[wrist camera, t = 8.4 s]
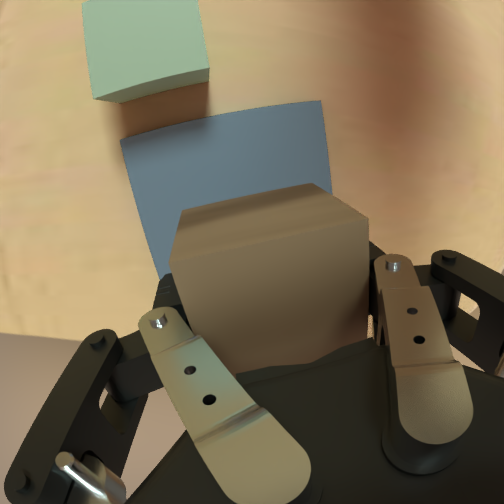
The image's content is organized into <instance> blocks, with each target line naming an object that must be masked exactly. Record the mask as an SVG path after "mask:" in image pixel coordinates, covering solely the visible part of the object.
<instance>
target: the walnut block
mask: <svg viewBox="0 0 504 504" xmlns="http://www.w3.org/2000/svg"><path fill="white" fill-rule="evenodd" d="M168 263H169V267H170V270H171V273H172V276H173V279H174V282H175V285H176V288H177V290H178V293H179V296H180V299H181V302H182V305H183V308H184V310H185V313H186V316H187V319H188V321H189V324H190V327H191V329H192V332H193V334H194V336H196V335H198V334H199V335H200V336H201V337H202V338H203V339H204V341H205V342H206V343H207V344H208V346H209V347H210V348H211V350H212V351H213V352H214V353H215V355H216V356H217V357H218V358H219V360H220V361H221V362H222V363H223V365H224V366H225V367H226V368H227V370H228V371H229V372H230V373H231V374H232V376H233V377H234V378H235V379H236V374H237V373H242V372H247V371H251V370H256V369H260V368H264V367H269V366H280V365H296V364H307V363H311V362H313V361H315V360H317V359H319V358H321V357H323V356H325V355H327V354H329V353H331V352H333V351H335V350H336V349H338V348H340V347H343V346H346V345H349V344H352V343H355V342H358V341H361V340H365V339H367V331H368V310H369V226H368V218H367V217H365V216H364V215H362V214H361V213H359V212H358V211H356V210H355V209H353V208H352V207H350V206H349V205H347V204H345V203H344V202H342V201H341V200H339V199H338V198H336V197H334V196H333V195H331V194H330V193H328V192H326V191H325V190H323V189H322V188H320V187H318V186H317V185H315V184H313V183H307V184H302V185H296V186H291V187H286V188H281V189H276V190H271V191H266V192H261V193H256V194H251V195H247V196H242V197H237V198H233V199H228V200H224V201H219V202H215V203H211V204H206V205H202V206H198V207H193V208H189V209H185V210H182V212H181V216H180V219H179V223H178V227H177V231H176V234H175V238H174V242H173V246H172V250H171V254H170V258H169V262H168Z"/></svg>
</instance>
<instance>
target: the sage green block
mask: <svg viewBox="0 0 504 504" xmlns="http://www.w3.org/2000/svg"><path fill="white" fill-rule="evenodd" d="M82 14H83V26H84V37H85V46H86V54H87V62H88V69H89V76H90V83H91V89H92V95H93V99H96V100H103V101H109V102H115V103H124V102H127V101H130V100H134V99H137V98H140V97H144V96H148V95H151V94H155V93H159V92H163V91H167V90H171V89H175V88H179V87H184V86H188V85H193V84H198V83H203V82H208V81H209V62H208V57H207V51H206V45H205V40H204V34H203V28H202V23H201V17H200V11H199V6H198V0H89V1H86V2H84V3H82Z"/></svg>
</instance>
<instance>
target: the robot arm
mask: <svg viewBox="0 0 504 504" xmlns="http://www.w3.org/2000/svg"><path fill="white" fill-rule="evenodd" d="M461 293H463V294H464V295H466V296H467V297H469V298H471V299H472V300H474V301H475V302H476V303H477V304H478V306H479V308H480V316H479V320H476V319H475V318H474V317H472V316H470V315H469V314H468V313H466V312H465V311H463V310H462V309H460V308H459V307H458V305H459V301H460V296H461ZM368 315H372V335H373V337H371V338H368V339H365V340H361V341H358V342H355V343H352V344H349V345H346V346H343V347H340V348H338V349H336V350H335V351H333V352H331V353H329V354H327V355H325V356H323V357H321V358H319V359H317V360H315V361H313V362H311V363H307V364H296V365H280V366H269V367H264V368H260V369H256V370H251V371H247V372H242V373H237V374H236V379H235V378H234V377H233V376H232V374H231V373H230V372H229V371H228V370H227V368H226V367H225V366H224V365H223V363H222V362H221V361H220V360H219V358H218V357H217V356H216V355H215V353H214V352H213V351H212V350H211V348H210V347H209V346H208V344H207V343H206V342H205V341H204V339H203V338H202V337H201V336H200V335H199V334H198V335H196V336H194V334H193V332H192V329H191V327H190V324H189V321H188V319H187V316H186V313H185V310H184V308H183V305H182V302H181V299H180V296H179V293H178V290H177V288H176V285H175V282H174V279H173V276H172V273H168V274H165V275H164V276H163V278H162V279H161V280H160V281H159V284H158V290H157V292H156V296H155V300H154V304H153V309H152V310H151V311H149V312H147V313H146V314H145V315H143V316H142V317H141V319H140V320H139V322H138V327H139V330H138V331H136V332H134V333H132V334H129V335H127V336H124V337H122V338H118V337H117V335H116V333H115V332H114V331H113V330H110V329H102V330H99V331H96V332H94V333H92V334H90V335H89V336H88V337H86V338H85V339H84V341H83V342H82V343H81V345H80V346H79V348H78V349H77V351H76V353H75V354H74V356H73V357H72V359H71V360H70V362H69V363H68V365H67V367H66V368H65V370H64V371H63V373H62V375H61V377H60V378H59V379H58V381H57V383H56V384H55V386H54V388H53V389H52V391H51V393H50V394H49V396H48V398H47V400H46V401H45V403H44V405H43V407H42V408H41V410H40V412H39V413H38V415H37V417H36V419H35V421H34V423H33V424H32V426H31V428H30V430H29V432H28V433H27V435H26V437H25V439H24V441H23V443H22V445H21V447H20V449H19V451H18V453H17V455H16V457H15V459H14V461H13V463H12V465H11V467H10V469H9V471H8V474H7V475H6V478H5V482H4V491H5V495H6V497H7V499H8V500H9V502H11V503H12V504H504V276H503V275H502V274H500V273H498V272H496V271H494V270H492V269H490V268H488V267H486V266H485V265H483V264H481V263H479V262H477V261H475V260H473V259H471V258H469V257H467V256H465V255H463V254H461V253H459V252H456V251H452V250H439V251H436V252H434V253H433V254H432V257H431V265H419V266H413V264H412V262H411V260H410V259H409V258H407V257H405V256H403V255H398V254H385V253H384V252H383V251H382V250H381V249H379V248H378V247H377V246H376V245H375V246H374V244H373V243H372V242H371V241H369V310H368ZM449 343H450V344H451V345H452V346H453V347H455V348H456V349H457V350H459V351H460V352H461V353H463V354H464V355H465V356H466V357H468V358H469V359H470V360H471V361H473V362H474V363H475V364H476V365H478V366H479V367H480V368H481V369H483V370H484V371H485V372H483V371H480V370H477V369H474V368H471V367H468V366H465V365H462V364H461V363H460V362H459V361H456V360H455V359H454V357H453V354H452V351H451V347H450V344H449ZM162 387H165V389H166V391H167V393H168V395H169V397H170V399H171V401H172V403H173V405H174V407H175V409H176V411H177V412H178V415H179V417H180V418H181V420H182V422H183V424H184V426H185V427H186V430H185V432H184V433H183V434H182V436H181V437H180V438H179V439H178V440H177V442H176V443H175V444H174V445H173V446H172V448H171V449H170V450H169V451H168V453H167V454H166V455H165V456H164V457H163V459H162V460H161V461H160V462H159V463H158V465H157V466H156V467H155V468H154V469H153V471H152V472H151V473H150V474H149V475H148V476H147V478H146V479H145V480H144V481H143V482H142V483H141V485H140V486H139V487H138V488H137V489H136V490H135V491H134V493H133V494H132V495H131V496H130V498H128V499H126V487H125V485H124V483H123V481H122V480H121V479H120V478H121V475H122V472H123V469H124V466H125V463H126V460H127V457H128V454H129V451H130V448H131V445H132V442H133V439H134V436H135V433H136V430H137V427H138V424H139V421H140V418H141V416H142V413H143V410H144V407H145V404H146V401H147V398H148V393H150V392H152V391H155V390H157V389H160V388H162ZM104 388H105V389H106V390H107V392H108V394H107V396H106V398H105V401H104V403H103V405H102V407H101V409H100V408H99V399H100V396H101V394H102V392H103V390H104Z"/></svg>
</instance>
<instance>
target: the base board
mask: <svg viewBox="0 0 504 504" xmlns="http://www.w3.org/2000/svg"><path fill="white" fill-rule="evenodd" d="M120 143H121V147H122V152H123V156H124V160H125V164H126V168H127V172H128V176H129V180H130V184H131V187H132V191H133V195H134V198H135V202H136V205H137V209H138V212H139V216H140V219H141V223H142V226H143V229H144V233H145V236H146V239H147V242H148V245H149V249H150V252H151V255H152V258H153V261H154V264H155V267H156V270H157V273H158V276H159V279H160V280H161V279H162V278H163V276H164V275H165V274H168V273H171V270H170V267H169V263H168V262H169V258H170V254H171V250H172V246H173V242H174V238H175V234H176V231H177V227H178V223H179V219H180V216H181V212H182V210H185V209H189V208H193V207H198V206H202V205H206V204H211V203H215V202H219V201H224V200H228V199H233V198H237V197H242V196H247V195H251V194H256V193H261V192H266V191H271V190H276V189H281V188H286V187H291V186H296V185H302V184H307V183H313V184H315V185H317V186H318V187H320V188H322V189H323V190H325V191H326V192H328V193H330V194H331V195H332V186H331V176H330V166H329V158H328V149H327V141H326V134H325V126H324V119H323V112H322V106H321V101H310V102H300V103H291V104H283V105H275V106H268V107H261V108H255V109H248V110H242V111H237V112H231V113H226V114H220V115H215V116H210V117H206V118H201V119H196V120H192V121H188V122H183V123H179V124H175V125H171V126H167V127H163V128H159V129H155V130H152V131H148V132H145V133H141V134H138V135H134V136H131V137H127V138H124V139H121V140H120Z"/></svg>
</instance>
